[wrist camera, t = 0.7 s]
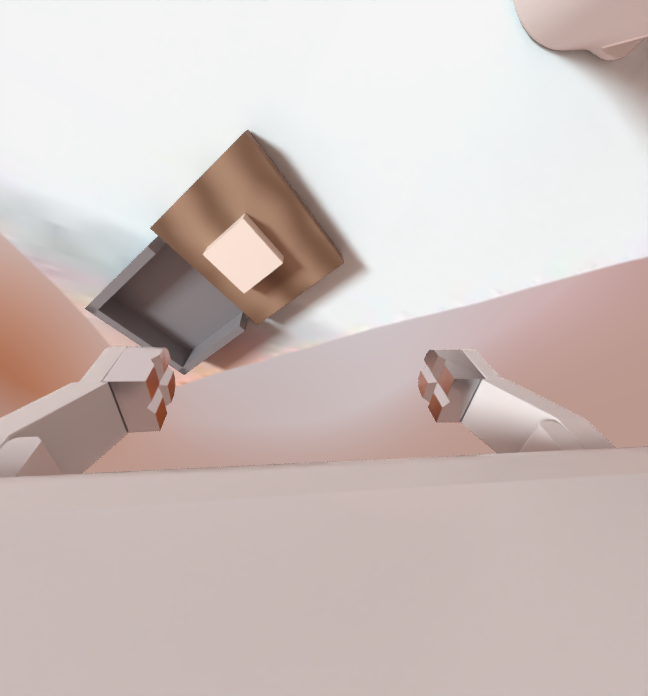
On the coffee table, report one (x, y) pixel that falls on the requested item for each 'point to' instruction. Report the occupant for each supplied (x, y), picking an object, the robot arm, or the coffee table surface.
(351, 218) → the coffee table surface
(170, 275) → the box
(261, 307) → the board
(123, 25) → the coffee table surface
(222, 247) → the tile
